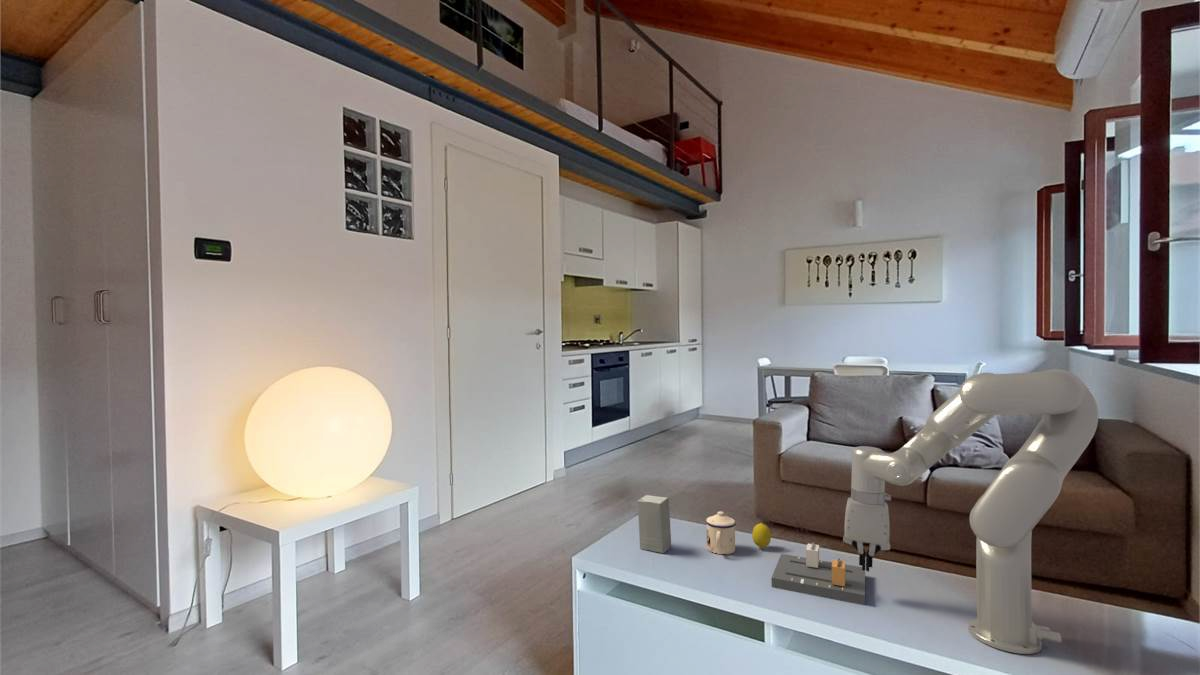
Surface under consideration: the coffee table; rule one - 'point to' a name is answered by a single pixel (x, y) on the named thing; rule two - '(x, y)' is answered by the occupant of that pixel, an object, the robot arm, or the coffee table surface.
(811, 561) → the fader white
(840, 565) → the fader orange
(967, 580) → the coffee table surface
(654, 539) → the skincare box
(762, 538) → the lemon
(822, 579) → the console
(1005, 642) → the robot arm
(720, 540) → the teacup with lid
